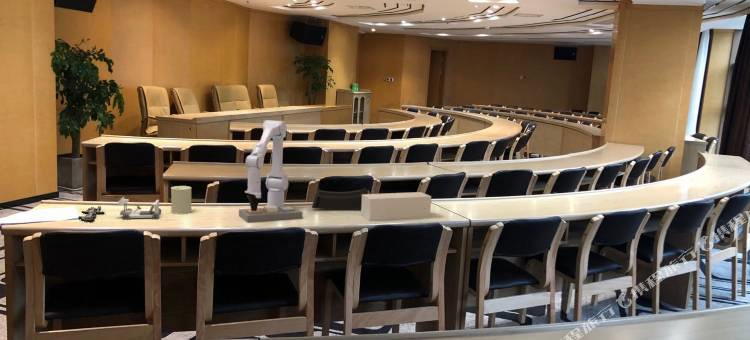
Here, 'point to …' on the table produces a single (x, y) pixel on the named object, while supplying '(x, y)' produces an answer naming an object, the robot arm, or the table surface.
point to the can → (181, 199)
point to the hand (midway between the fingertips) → (253, 210)
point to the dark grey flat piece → (91, 214)
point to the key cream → (270, 209)
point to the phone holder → (139, 214)
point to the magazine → (339, 200)
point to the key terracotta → (253, 211)
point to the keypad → (270, 215)
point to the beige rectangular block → (395, 206)
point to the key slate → (286, 209)
